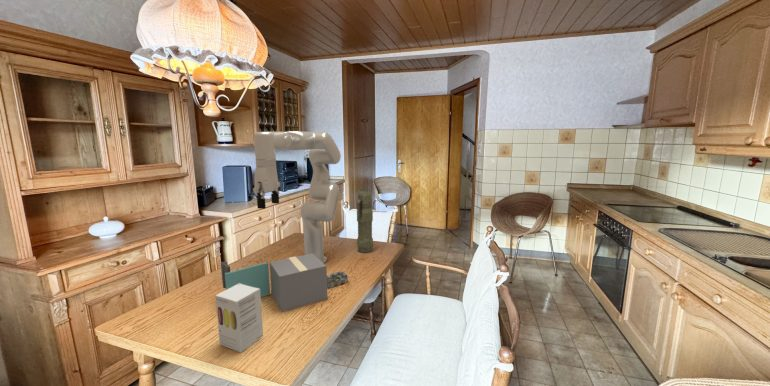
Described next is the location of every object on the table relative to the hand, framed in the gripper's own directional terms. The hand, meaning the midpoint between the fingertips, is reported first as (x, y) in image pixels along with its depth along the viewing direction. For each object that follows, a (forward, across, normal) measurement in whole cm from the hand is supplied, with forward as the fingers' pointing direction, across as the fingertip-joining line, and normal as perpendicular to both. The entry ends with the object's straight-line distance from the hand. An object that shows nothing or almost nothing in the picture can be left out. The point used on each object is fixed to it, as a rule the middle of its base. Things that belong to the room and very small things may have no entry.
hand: (268, 205), depth 128 cm
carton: (+36, +4, +13) cm, 39 cm away
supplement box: (+36, +33, +9) cm, 50 cm away
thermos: (+36, -53, +25) cm, 69 cm away
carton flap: (+36, +9, -6) cm, 38 cm away
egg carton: (+37, -12, +23) cm, 45 cm away
